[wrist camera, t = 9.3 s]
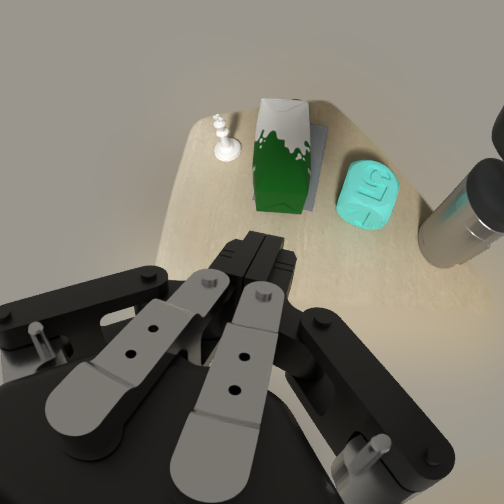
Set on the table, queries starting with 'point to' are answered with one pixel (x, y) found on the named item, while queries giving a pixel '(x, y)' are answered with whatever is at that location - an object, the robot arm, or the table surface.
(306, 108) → the soya milk
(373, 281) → the table surface
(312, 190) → the mat
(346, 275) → the table surface
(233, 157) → the chess piece
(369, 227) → the decorative dice
